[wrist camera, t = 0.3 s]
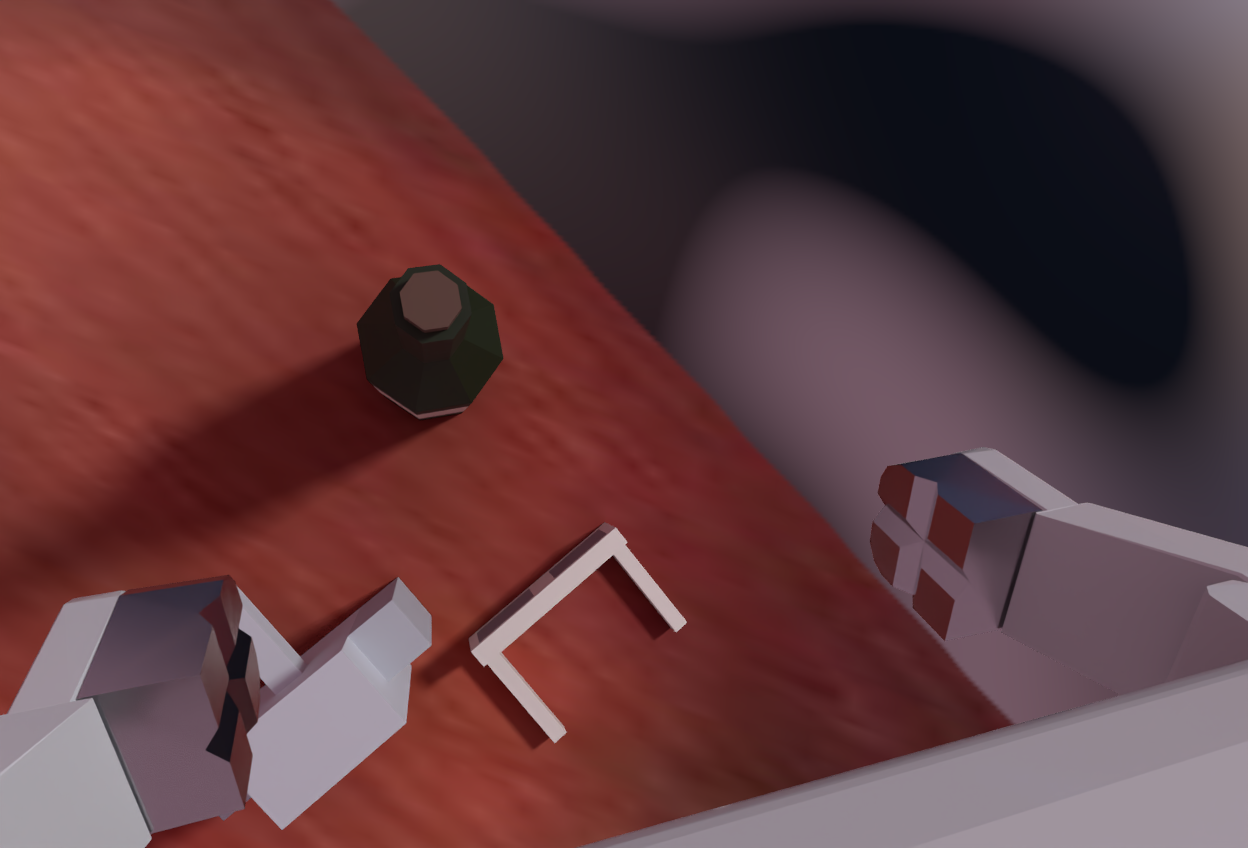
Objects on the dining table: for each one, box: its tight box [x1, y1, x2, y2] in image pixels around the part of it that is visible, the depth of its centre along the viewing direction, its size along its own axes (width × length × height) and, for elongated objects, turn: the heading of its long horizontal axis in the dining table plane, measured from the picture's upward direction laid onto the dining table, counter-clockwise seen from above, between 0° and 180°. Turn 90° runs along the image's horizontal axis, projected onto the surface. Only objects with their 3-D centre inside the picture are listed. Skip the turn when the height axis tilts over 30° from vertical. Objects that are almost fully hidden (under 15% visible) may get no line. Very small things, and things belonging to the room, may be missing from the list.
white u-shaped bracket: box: [468, 522, 687, 743], centre depth 61 cm, size 10×14×4 cm
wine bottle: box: [357, 264, 503, 420], centre depth 46 cm, size 8×8×30 cm
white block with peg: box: [219, 577, 431, 830], centre depth 52 cm, size 13×16×12 cm
